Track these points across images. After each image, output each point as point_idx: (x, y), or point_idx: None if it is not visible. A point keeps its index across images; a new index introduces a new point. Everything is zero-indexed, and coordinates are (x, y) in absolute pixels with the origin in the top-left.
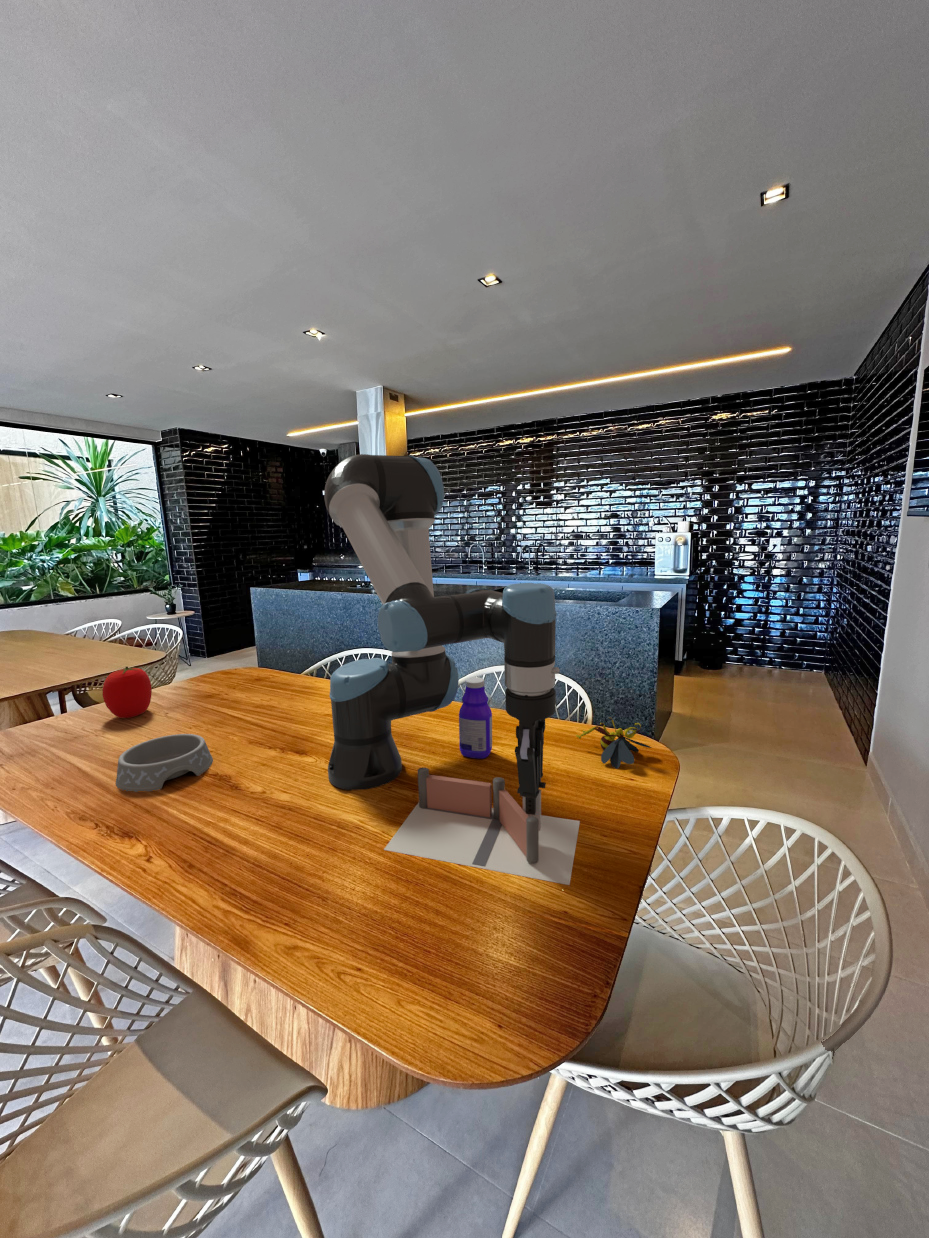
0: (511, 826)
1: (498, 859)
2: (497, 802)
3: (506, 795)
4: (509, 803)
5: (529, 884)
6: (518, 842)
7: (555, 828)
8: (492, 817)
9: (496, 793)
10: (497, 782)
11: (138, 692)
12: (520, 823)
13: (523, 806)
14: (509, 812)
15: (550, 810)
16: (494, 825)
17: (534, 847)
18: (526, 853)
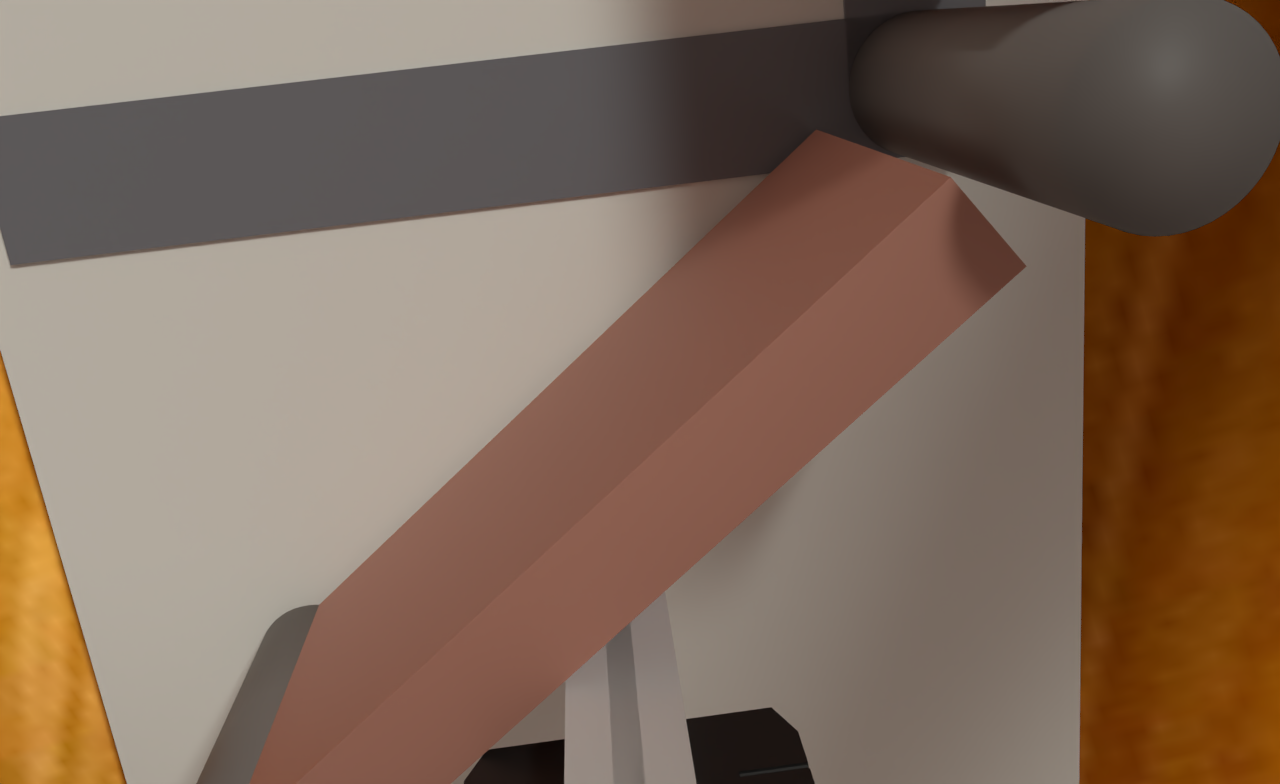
0: (577, 401)
1: (189, 351)
2: (923, 103)
3: (848, 343)
4: (634, 469)
5: (54, 690)
6: (445, 497)
7: (894, 685)
8: (879, 7)
9: (972, 98)
10: (1081, 125)
11: None
12: (375, 666)
13: (565, 724)
14: (622, 417)
15: (1218, 538)
16: (731, 92)
17: None
18: (281, 640)
